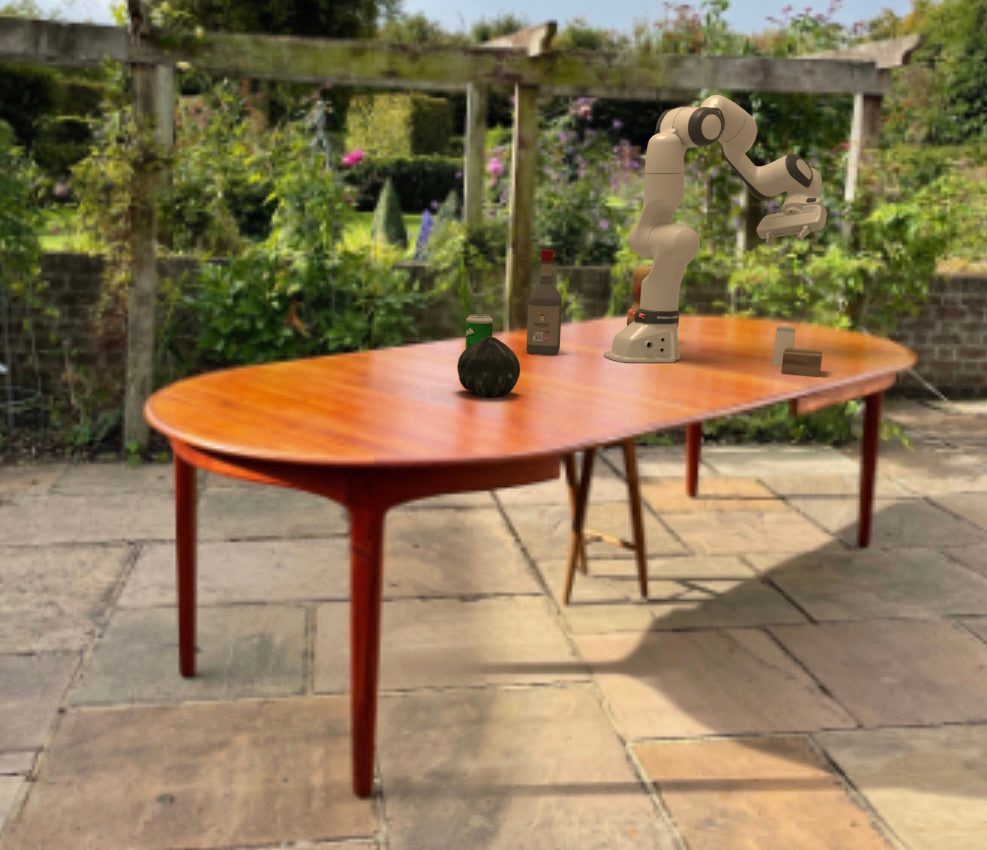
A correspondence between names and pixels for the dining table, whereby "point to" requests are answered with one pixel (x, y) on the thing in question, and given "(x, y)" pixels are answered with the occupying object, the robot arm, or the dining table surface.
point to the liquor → (544, 312)
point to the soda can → (478, 328)
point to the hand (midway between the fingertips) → (784, 241)
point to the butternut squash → (638, 287)
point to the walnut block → (801, 362)
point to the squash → (488, 368)
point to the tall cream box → (783, 343)
